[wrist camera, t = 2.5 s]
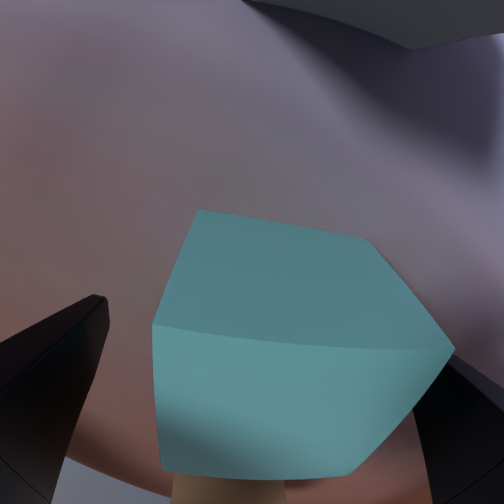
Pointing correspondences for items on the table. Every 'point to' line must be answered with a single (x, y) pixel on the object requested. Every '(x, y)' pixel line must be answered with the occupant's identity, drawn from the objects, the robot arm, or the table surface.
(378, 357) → the teal cube
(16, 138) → the table surface
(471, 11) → the gray cube
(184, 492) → the walnut cube
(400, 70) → the table surface
